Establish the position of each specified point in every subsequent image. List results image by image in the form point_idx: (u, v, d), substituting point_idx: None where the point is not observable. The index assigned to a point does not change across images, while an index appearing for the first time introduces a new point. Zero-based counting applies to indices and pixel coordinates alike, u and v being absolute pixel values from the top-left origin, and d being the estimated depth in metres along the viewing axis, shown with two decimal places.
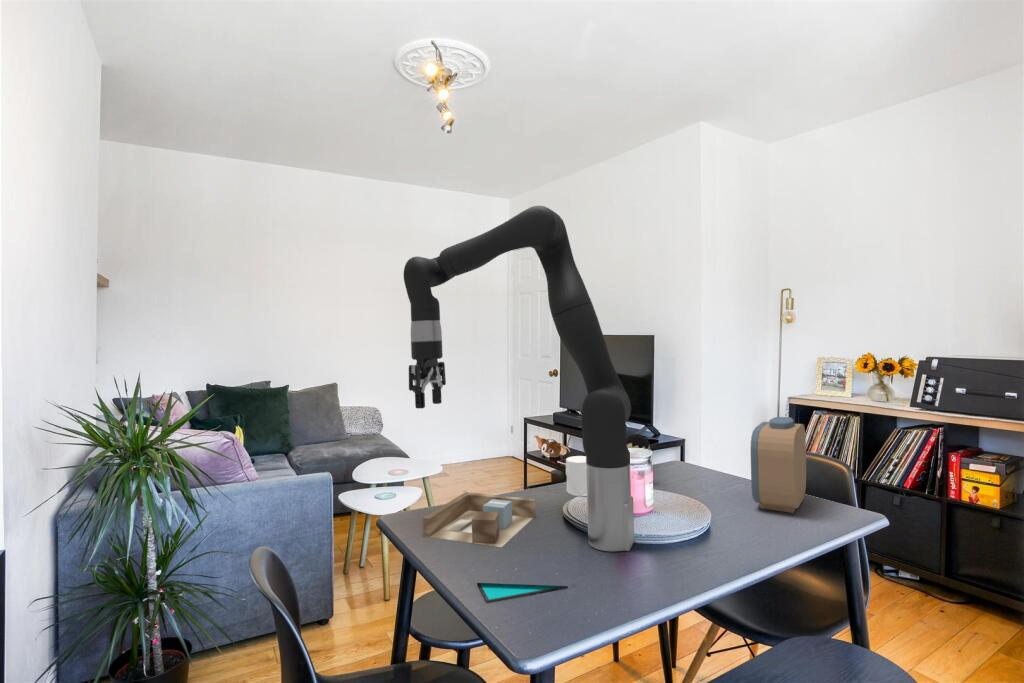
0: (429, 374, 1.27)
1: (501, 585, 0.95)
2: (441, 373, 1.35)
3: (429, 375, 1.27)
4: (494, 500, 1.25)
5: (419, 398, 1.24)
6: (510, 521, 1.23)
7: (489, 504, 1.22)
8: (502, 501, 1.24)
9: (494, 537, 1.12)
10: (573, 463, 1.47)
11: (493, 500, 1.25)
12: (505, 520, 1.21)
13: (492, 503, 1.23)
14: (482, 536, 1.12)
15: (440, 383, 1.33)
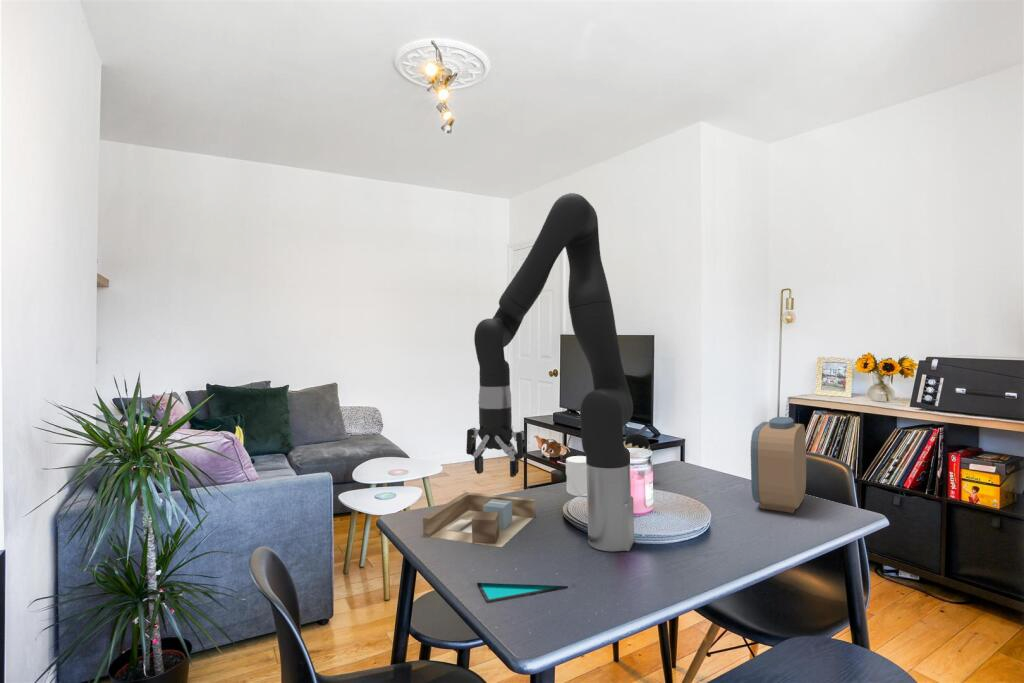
0: None
1: (501, 585, 0.95)
2: (475, 440, 1.26)
3: None
4: (494, 500, 1.25)
5: (517, 465, 1.21)
6: (510, 521, 1.23)
7: (489, 504, 1.22)
8: (502, 501, 1.24)
9: (494, 537, 1.12)
10: (573, 463, 1.47)
11: (493, 500, 1.25)
12: (505, 520, 1.21)
13: (492, 503, 1.23)
14: (482, 536, 1.12)
15: None
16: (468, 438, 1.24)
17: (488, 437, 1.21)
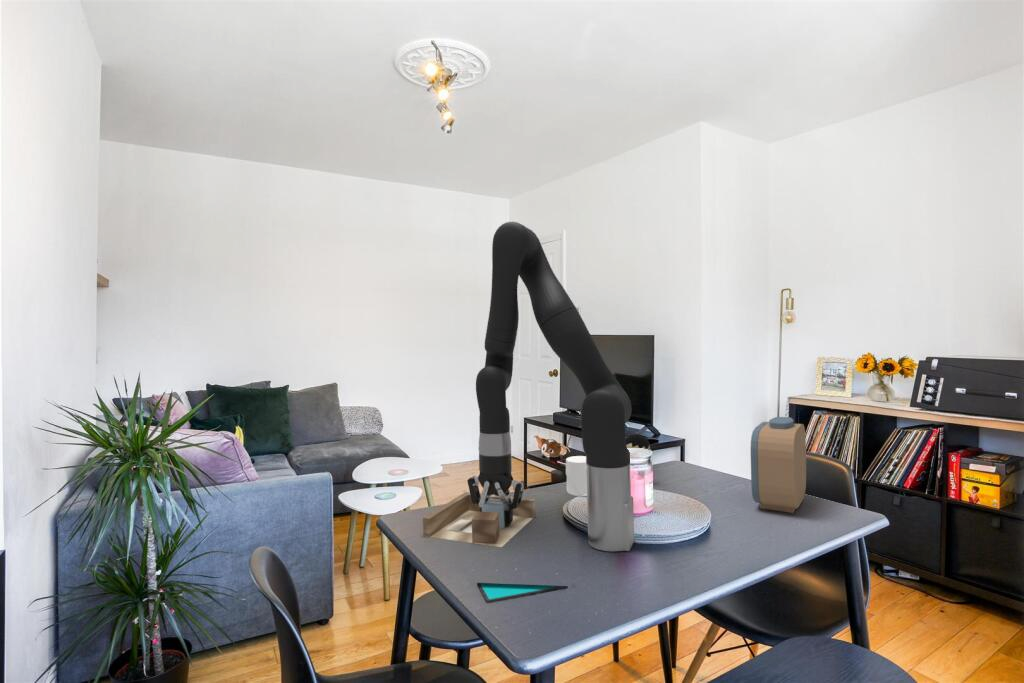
0: None
1: (501, 585, 0.95)
2: (477, 488, 1.25)
3: None
4: (492, 499, 1.25)
5: (512, 514, 1.22)
6: None
7: (487, 504, 1.22)
8: (500, 500, 1.24)
9: (494, 537, 1.12)
10: (573, 463, 1.47)
11: (491, 499, 1.25)
12: None
13: (490, 503, 1.23)
14: (482, 536, 1.12)
15: None
16: (470, 487, 1.24)
17: (488, 483, 1.21)
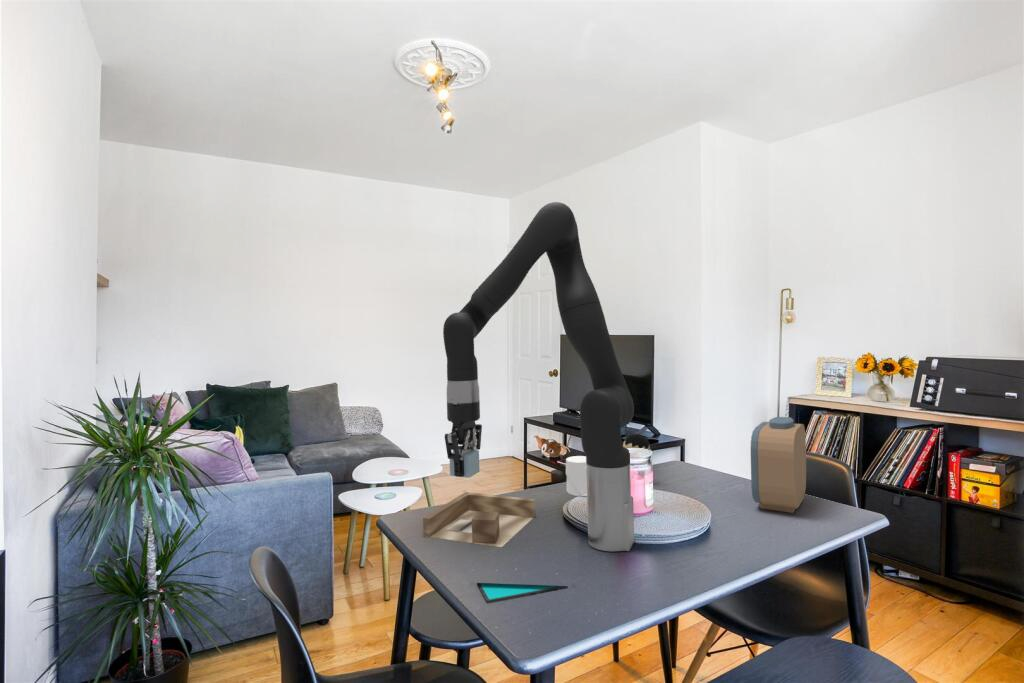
0: None
1: (501, 585, 0.95)
2: None
3: None
4: None
5: None
6: None
7: (466, 454, 1.20)
8: (459, 451, 1.23)
9: (494, 537, 1.12)
10: (573, 463, 1.47)
11: None
12: None
13: (464, 453, 1.21)
14: (482, 536, 1.12)
15: None
16: (456, 443, 1.16)
17: (469, 431, 1.20)
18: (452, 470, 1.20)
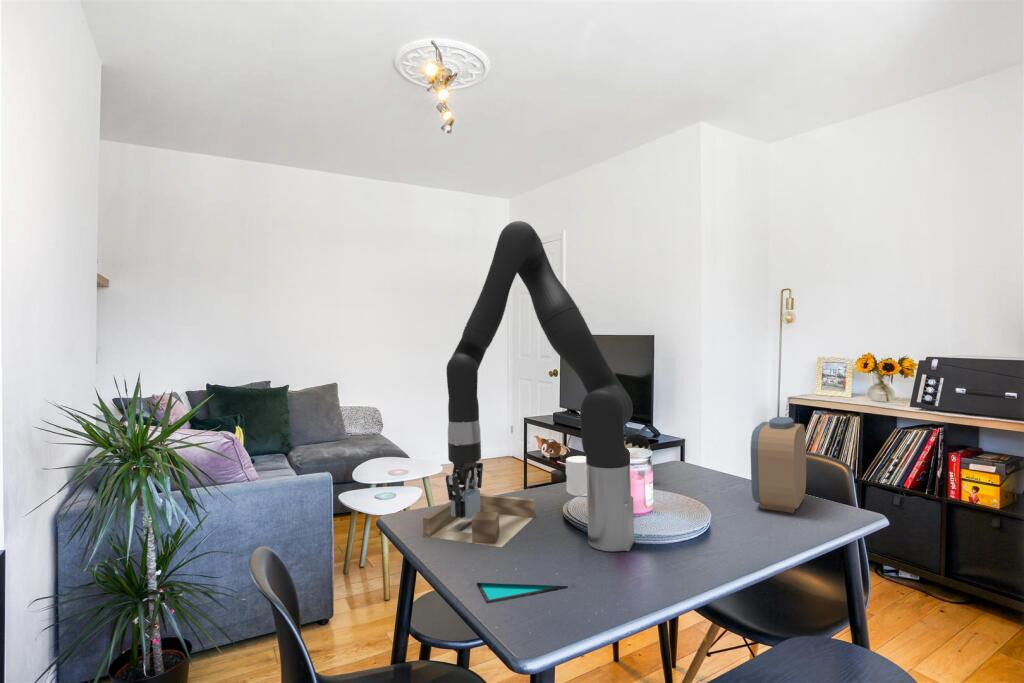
0: None
1: (501, 585, 0.95)
2: None
3: None
4: None
5: None
6: None
7: (467, 494, 1.20)
8: (460, 490, 1.23)
9: (494, 537, 1.12)
10: (573, 463, 1.47)
11: None
12: None
13: None
14: (482, 536, 1.12)
15: None
16: (457, 485, 1.16)
17: (470, 472, 1.20)
18: (453, 510, 1.21)
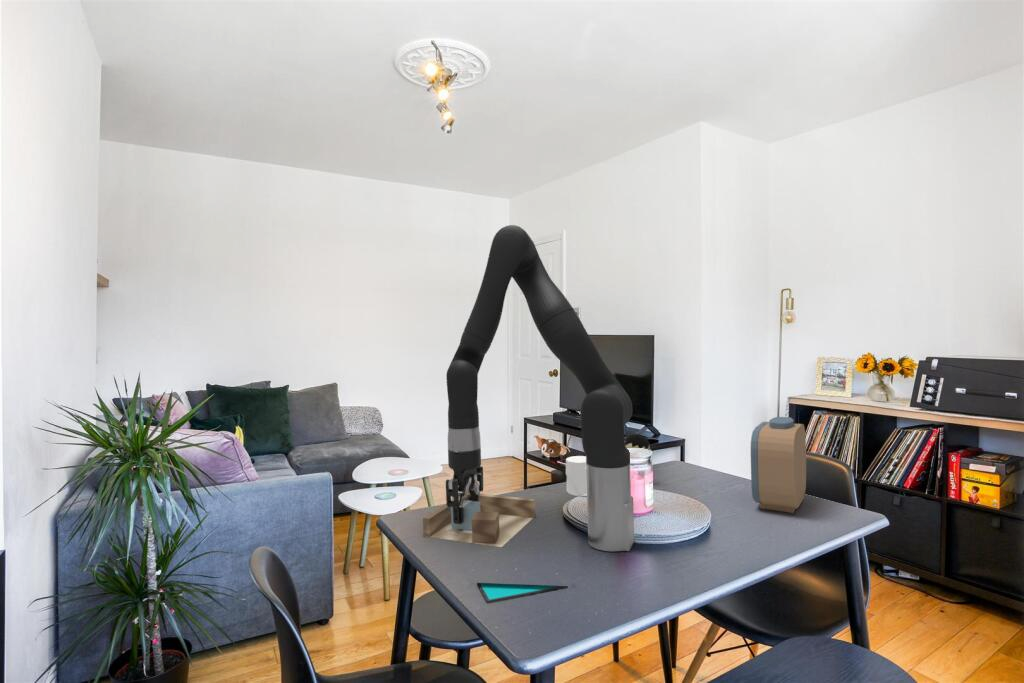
0: None
1: (501, 585, 0.95)
2: None
3: None
4: None
5: None
6: None
7: (467, 506, 1.20)
8: None
9: (494, 537, 1.12)
10: (573, 463, 1.47)
11: None
12: None
13: (465, 505, 1.21)
14: (482, 536, 1.12)
15: None
16: (456, 490, 1.16)
17: (470, 479, 1.20)
18: None
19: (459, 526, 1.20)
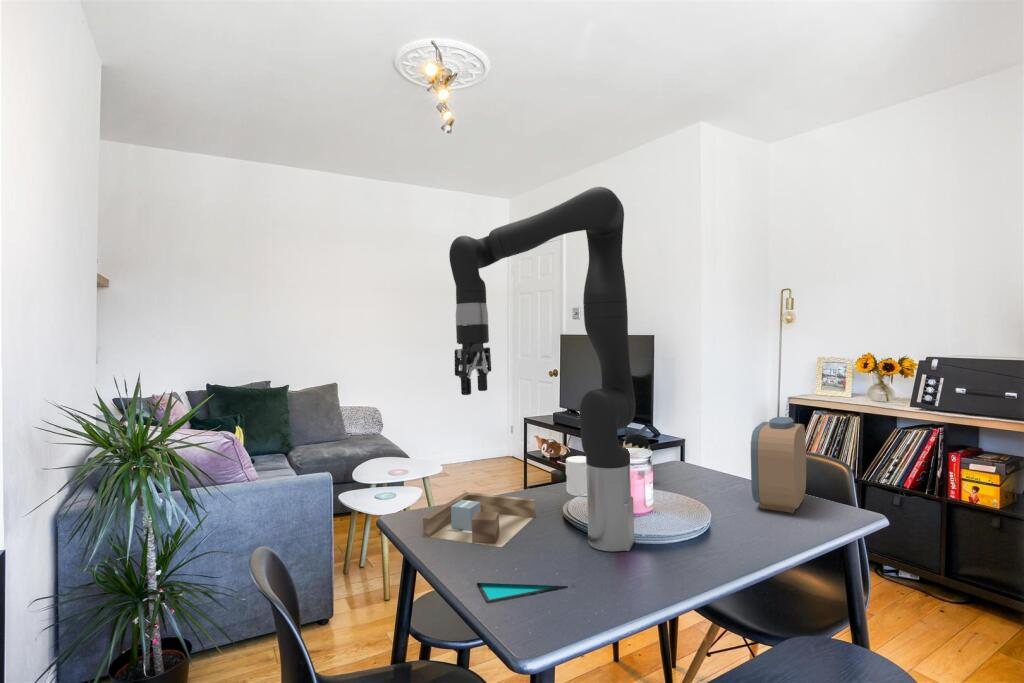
0: None
1: (501, 585, 0.95)
2: None
3: None
4: (455, 505, 1.21)
5: None
6: None
7: (467, 506, 1.20)
8: (460, 502, 1.23)
9: (494, 537, 1.12)
10: (573, 463, 1.47)
11: (455, 505, 1.21)
12: None
13: (465, 505, 1.21)
14: (482, 536, 1.12)
15: None
16: (464, 358, 1.17)
17: (479, 354, 1.22)
18: (454, 522, 1.20)
19: (459, 526, 1.20)
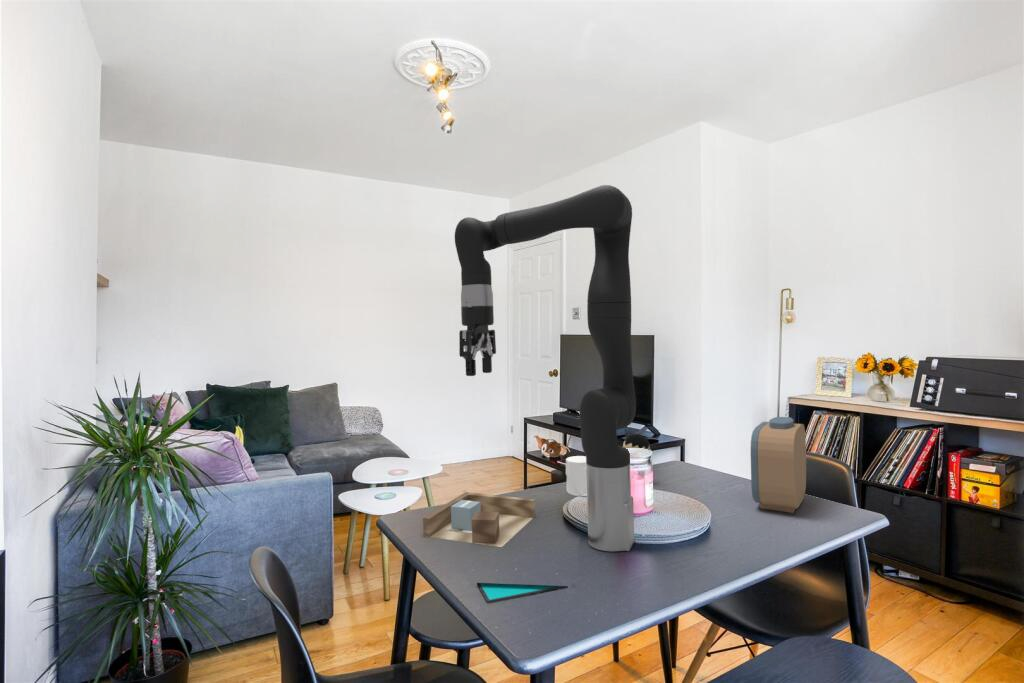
0: None
1: (501, 585, 0.95)
2: None
3: None
4: (455, 505, 1.21)
5: None
6: None
7: (467, 506, 1.20)
8: (460, 502, 1.23)
9: (494, 537, 1.12)
10: (573, 463, 1.47)
11: (455, 505, 1.21)
12: None
13: (465, 505, 1.21)
14: (482, 536, 1.12)
15: None
16: (469, 339, 1.18)
17: (483, 335, 1.23)
18: (454, 522, 1.20)
19: (459, 526, 1.20)
